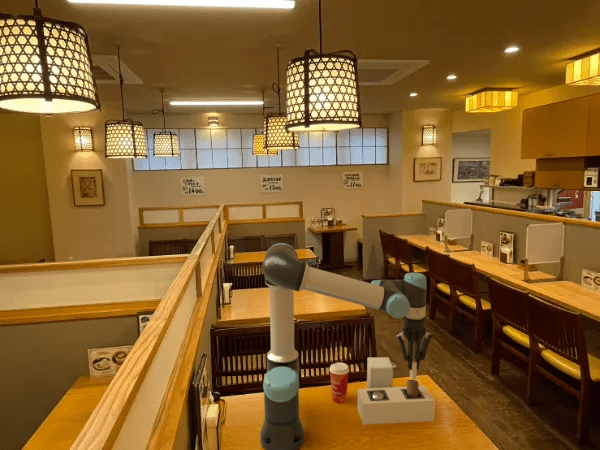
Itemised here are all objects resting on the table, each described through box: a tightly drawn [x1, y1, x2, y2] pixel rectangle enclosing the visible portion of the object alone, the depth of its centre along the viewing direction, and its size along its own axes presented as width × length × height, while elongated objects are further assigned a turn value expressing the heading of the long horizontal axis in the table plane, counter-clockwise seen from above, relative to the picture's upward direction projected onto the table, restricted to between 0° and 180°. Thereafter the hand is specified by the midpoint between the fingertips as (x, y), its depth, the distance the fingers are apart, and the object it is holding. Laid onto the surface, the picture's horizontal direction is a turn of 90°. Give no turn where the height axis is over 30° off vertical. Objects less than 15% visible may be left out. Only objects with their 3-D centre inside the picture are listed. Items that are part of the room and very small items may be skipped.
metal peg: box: [372, 391, 383, 400], centre depth 152 cm, size 4×4×8 cm
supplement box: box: [366, 356, 394, 389], centre depth 164 cm, size 9×9×15 cm
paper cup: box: [329, 361, 350, 404], centre depth 163 cm, size 8×8×14 cm
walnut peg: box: [406, 379, 419, 398], centre depth 152 cm, size 4×4×8 cm
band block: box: [357, 385, 436, 426], centre depth 153 cm, size 26×10×8 cm, turn 93°
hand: (413, 377), depth 152 cm, fingers closed
